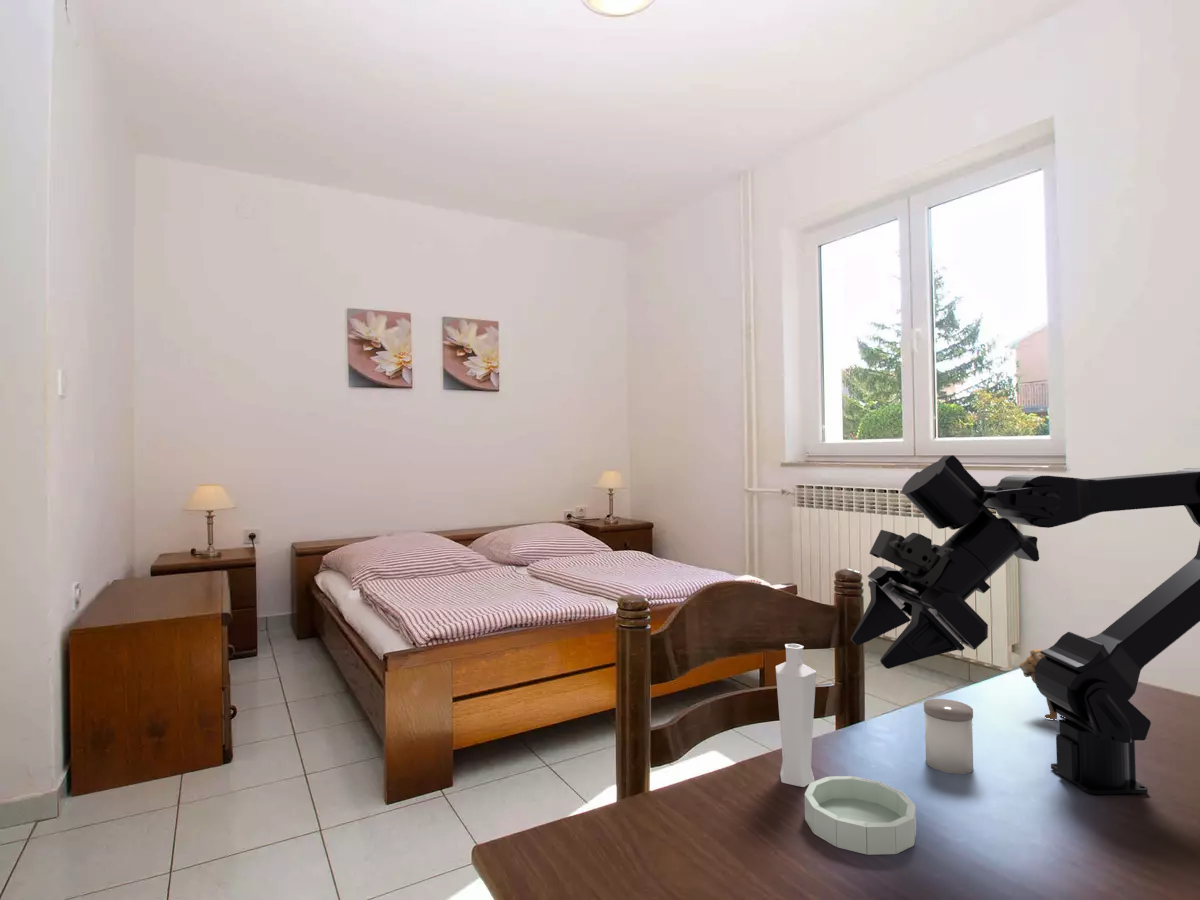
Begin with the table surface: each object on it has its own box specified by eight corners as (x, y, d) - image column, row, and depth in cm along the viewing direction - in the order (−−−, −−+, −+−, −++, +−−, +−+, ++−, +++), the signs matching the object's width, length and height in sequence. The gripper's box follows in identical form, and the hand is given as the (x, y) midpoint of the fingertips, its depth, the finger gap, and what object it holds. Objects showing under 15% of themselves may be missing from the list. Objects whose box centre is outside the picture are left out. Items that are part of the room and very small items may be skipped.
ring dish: (887, 799, 71) (886, 775, 72) (935, 853, 61) (935, 825, 62) (793, 800, 71) (793, 777, 71) (827, 855, 61) (826, 827, 61)
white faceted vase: (820, 790, 74) (818, 652, 74) (779, 786, 75) (776, 650, 75) (815, 771, 78) (813, 641, 78) (776, 768, 79) (774, 640, 79)
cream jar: (958, 754, 82) (957, 698, 82) (983, 773, 77) (982, 714, 77) (916, 755, 82) (915, 699, 82) (939, 774, 77) (937, 714, 77)
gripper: (885, 502, 86) (796, 586, 86) (958, 513, 67) (844, 620, 67) (947, 566, 85) (857, 650, 86) (1037, 594, 67) (923, 702, 67)
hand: (867, 653), depth 76 cm, fingers open, 9 cm apart
